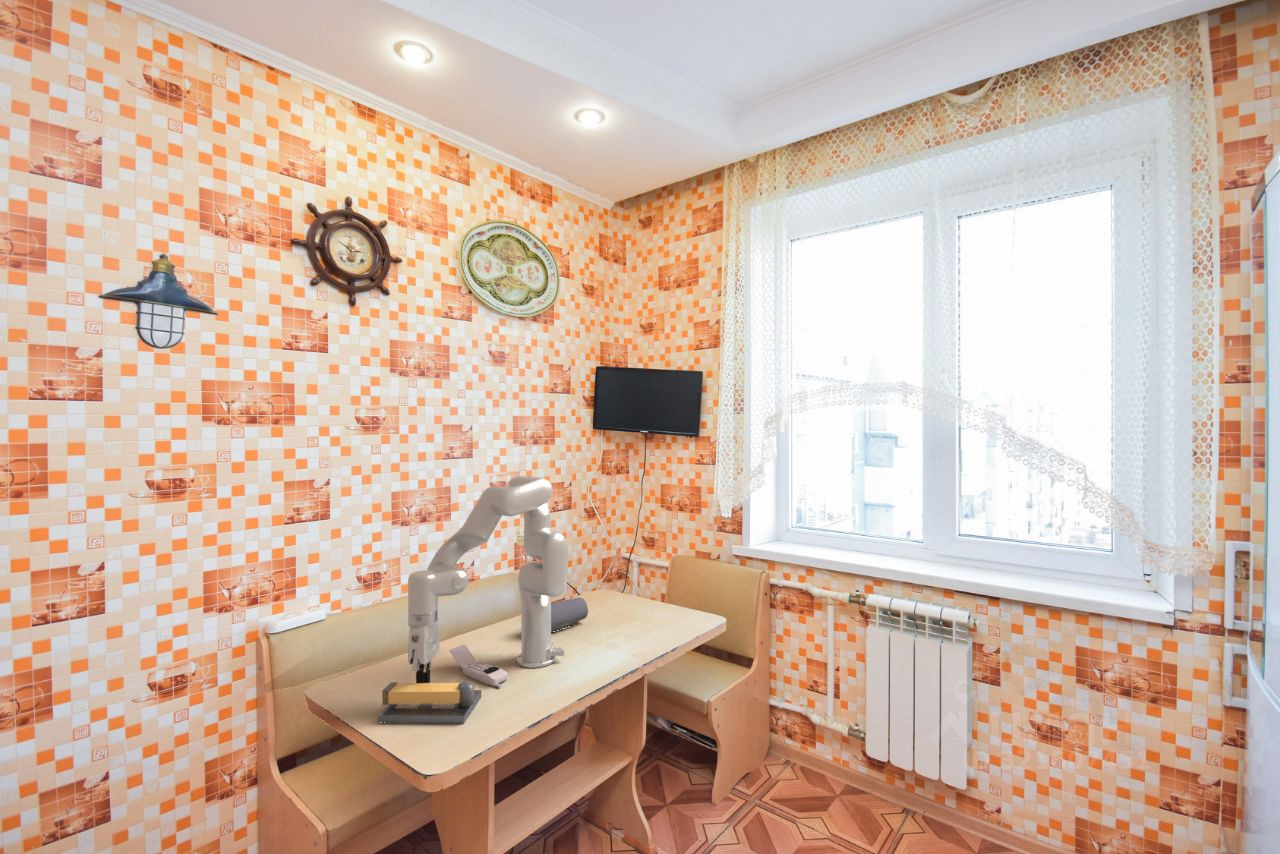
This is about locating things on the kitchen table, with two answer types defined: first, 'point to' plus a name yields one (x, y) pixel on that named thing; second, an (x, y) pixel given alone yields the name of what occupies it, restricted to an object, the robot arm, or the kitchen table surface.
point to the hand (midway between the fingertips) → (423, 685)
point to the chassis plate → (428, 712)
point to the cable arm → (429, 693)
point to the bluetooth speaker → (567, 613)
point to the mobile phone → (478, 667)
